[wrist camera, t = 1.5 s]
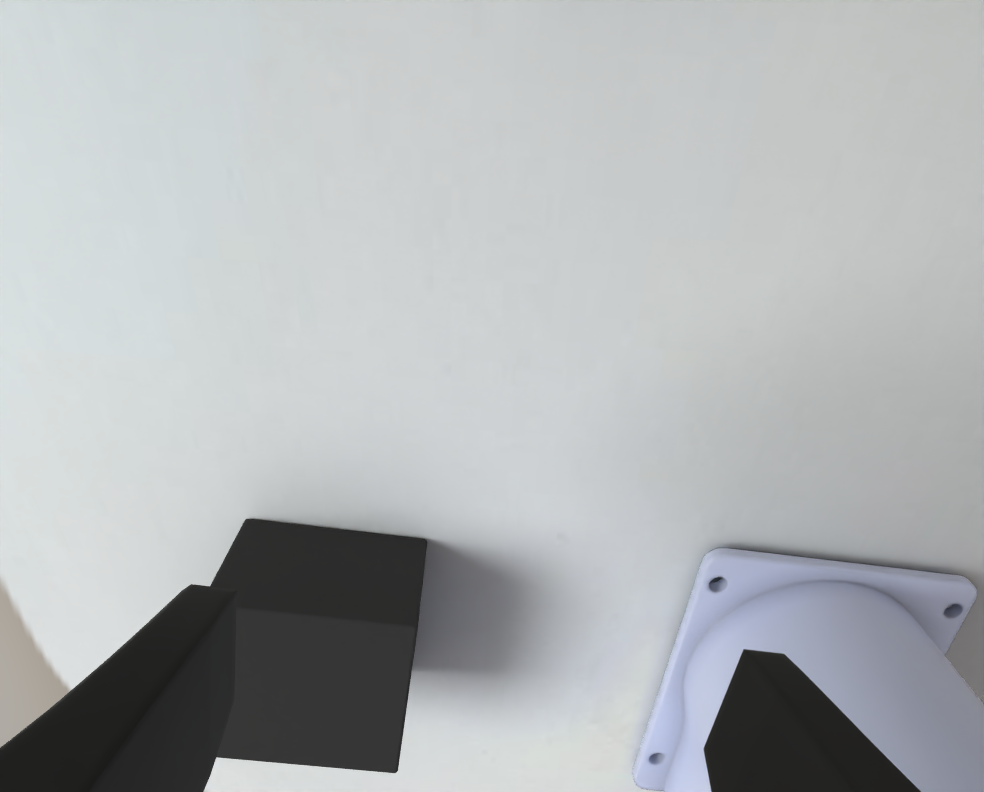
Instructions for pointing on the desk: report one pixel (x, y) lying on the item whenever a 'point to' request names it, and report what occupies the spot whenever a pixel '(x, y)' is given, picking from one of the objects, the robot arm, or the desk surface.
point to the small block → (321, 644)
